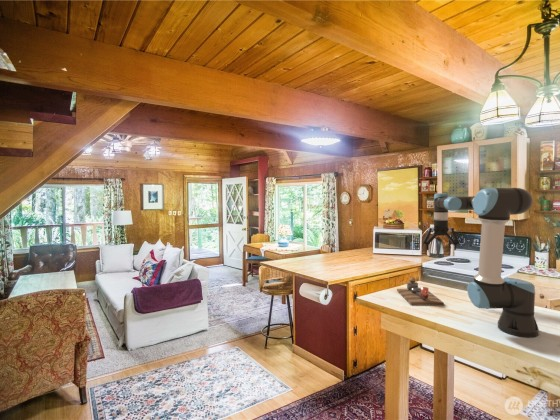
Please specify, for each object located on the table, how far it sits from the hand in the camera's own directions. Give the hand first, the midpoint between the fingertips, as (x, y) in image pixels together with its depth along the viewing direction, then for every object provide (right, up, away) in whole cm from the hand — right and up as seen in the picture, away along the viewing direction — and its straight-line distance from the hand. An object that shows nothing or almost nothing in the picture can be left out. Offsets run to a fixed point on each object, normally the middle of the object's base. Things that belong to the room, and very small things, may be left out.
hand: (440, 255), depth 194 cm
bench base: (-12, -25, +2) cm, 28 cm away
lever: (-12, -24, +1) cm, 26 cm away
